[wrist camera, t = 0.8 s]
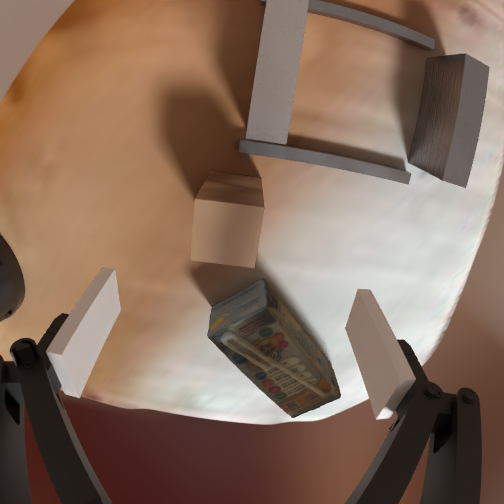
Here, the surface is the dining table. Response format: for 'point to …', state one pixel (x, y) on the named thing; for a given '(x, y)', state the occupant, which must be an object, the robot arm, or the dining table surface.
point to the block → (228, 220)
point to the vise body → (430, 115)
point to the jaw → (277, 70)
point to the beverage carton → (273, 350)
